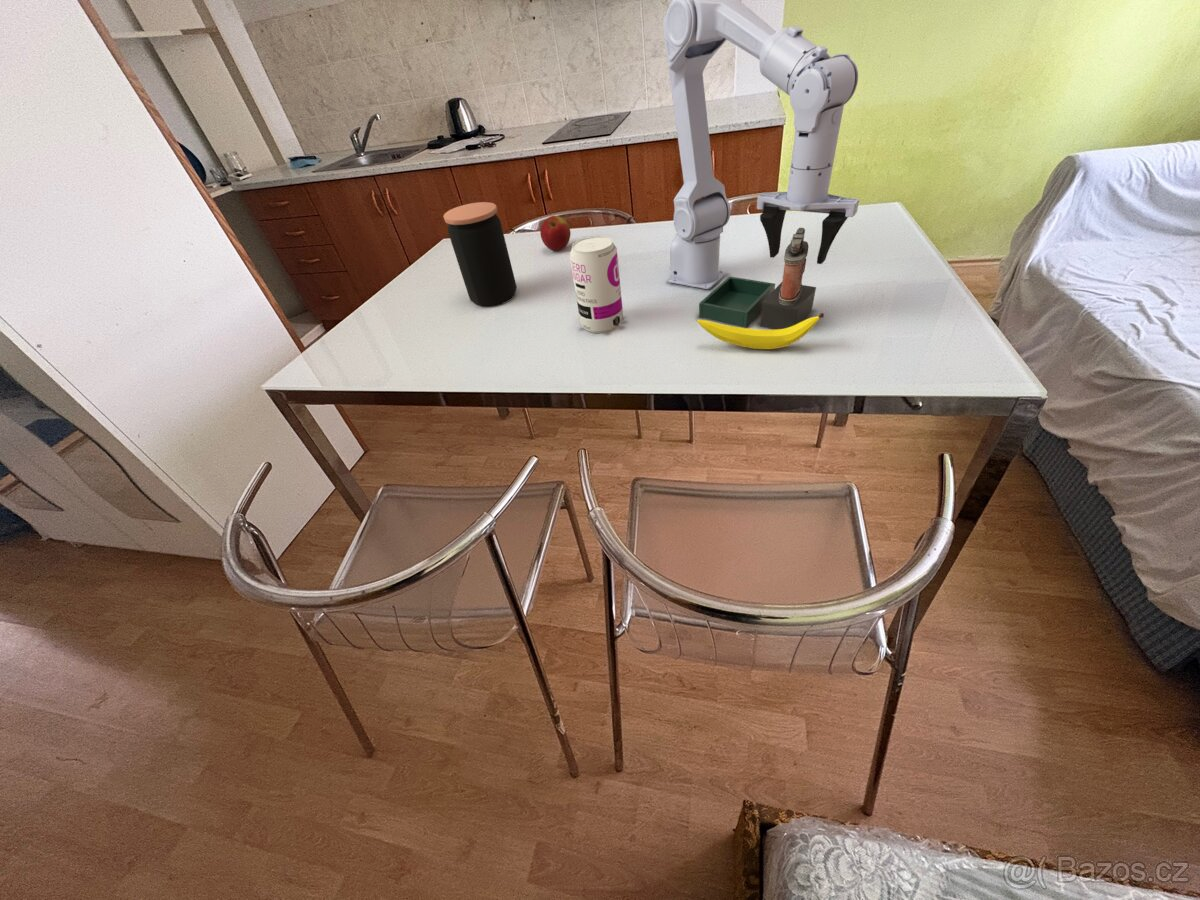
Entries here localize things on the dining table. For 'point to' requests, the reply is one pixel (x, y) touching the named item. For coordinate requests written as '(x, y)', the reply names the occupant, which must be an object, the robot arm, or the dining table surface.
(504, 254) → the coffee jar
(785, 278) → the lighter
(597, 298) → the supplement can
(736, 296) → the tray
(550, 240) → the apple
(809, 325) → the banana
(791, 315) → the stand
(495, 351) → the dining table surface
